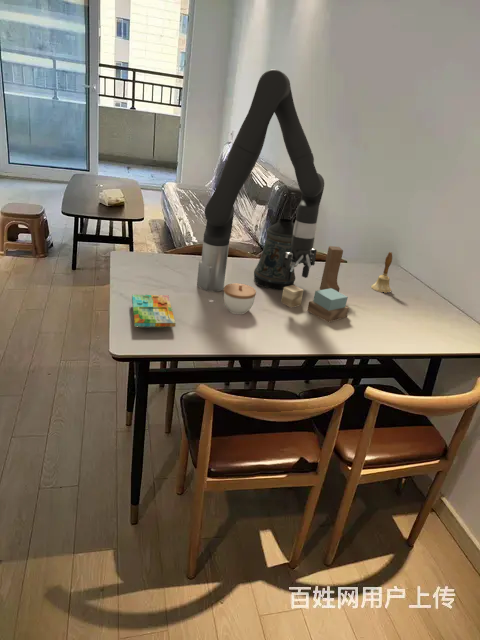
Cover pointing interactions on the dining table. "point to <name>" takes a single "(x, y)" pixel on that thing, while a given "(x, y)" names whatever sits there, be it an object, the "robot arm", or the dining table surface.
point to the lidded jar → (239, 297)
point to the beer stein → (275, 256)
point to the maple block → (292, 296)
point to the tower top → (330, 299)
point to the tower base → (327, 312)
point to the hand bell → (384, 277)
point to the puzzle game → (152, 311)
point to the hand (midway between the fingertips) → (296, 278)
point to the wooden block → (331, 268)
